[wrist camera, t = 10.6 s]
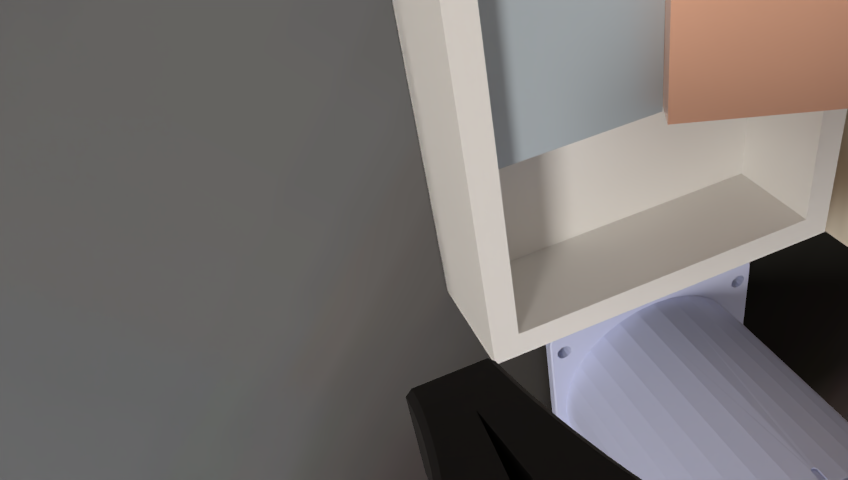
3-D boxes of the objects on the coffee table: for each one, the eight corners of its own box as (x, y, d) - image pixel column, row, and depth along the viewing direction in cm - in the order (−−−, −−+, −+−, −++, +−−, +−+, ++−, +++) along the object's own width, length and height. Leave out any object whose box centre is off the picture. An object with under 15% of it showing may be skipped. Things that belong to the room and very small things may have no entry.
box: (747, 177, 27) (824, 231, 24) (447, 291, 25) (495, 364, 22) (811, -438, 17) (951, -460, 15) (328, -335, 15) (387, -339, 13)
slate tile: (485, 173, 20) (454, 138, 21) (662, 111, 21) (620, 81, 22) (458, -27, 17) (424, -51, 18) (667, -89, 18) (617, -107, 19)
